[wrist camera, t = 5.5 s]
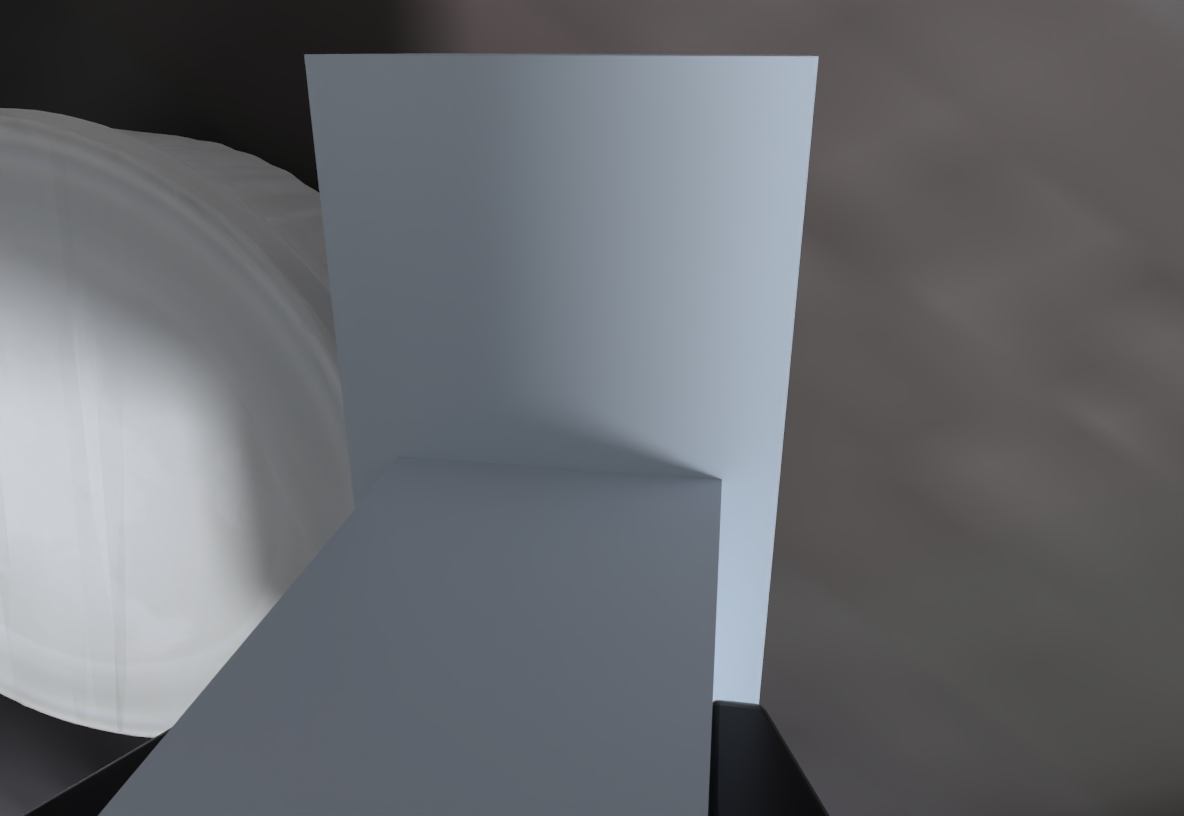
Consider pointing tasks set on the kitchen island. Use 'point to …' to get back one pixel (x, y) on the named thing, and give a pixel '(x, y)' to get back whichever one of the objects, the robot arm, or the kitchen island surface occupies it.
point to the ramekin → (155, 413)
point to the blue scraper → (528, 443)
